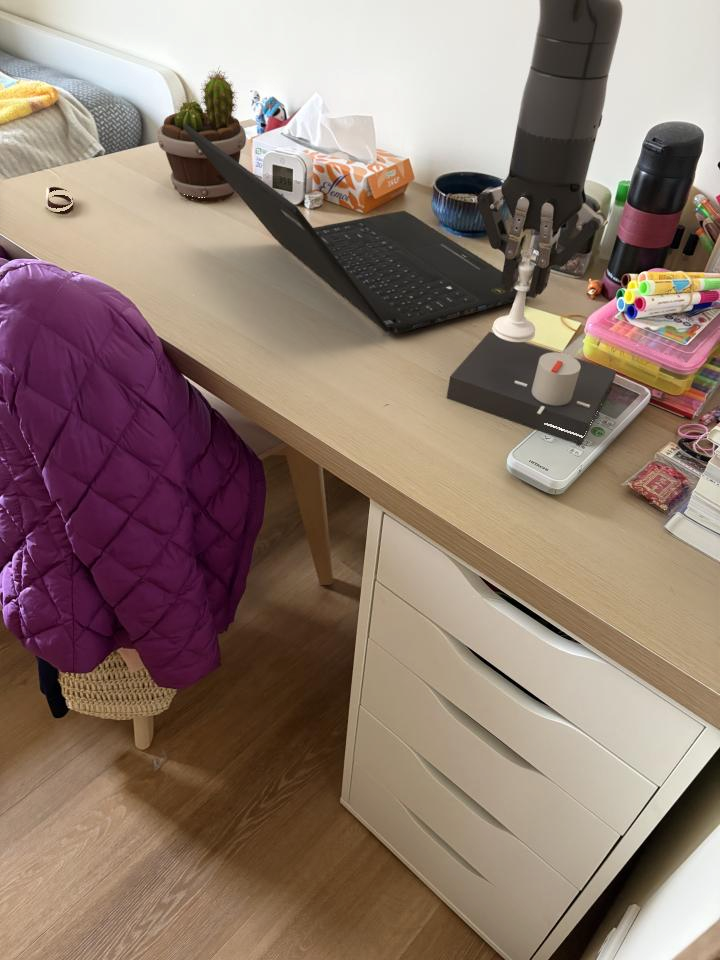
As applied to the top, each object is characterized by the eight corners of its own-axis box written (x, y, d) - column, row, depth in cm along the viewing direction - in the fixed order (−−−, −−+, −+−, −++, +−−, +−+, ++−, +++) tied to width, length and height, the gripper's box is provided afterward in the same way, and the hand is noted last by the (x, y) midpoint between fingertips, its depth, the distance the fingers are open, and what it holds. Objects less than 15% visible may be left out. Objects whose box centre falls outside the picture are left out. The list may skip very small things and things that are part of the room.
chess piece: (504, 316, 85) (520, 234, 78) (542, 330, 83) (562, 247, 76) (484, 332, 82) (499, 248, 75) (523, 347, 80) (542, 262, 73)
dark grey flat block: (609, 391, 85) (617, 369, 83) (577, 451, 76) (584, 428, 74) (485, 352, 91) (489, 330, 89) (441, 403, 82) (445, 380, 80)
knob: (539, 378, 81) (547, 345, 78) (576, 390, 80) (586, 357, 77) (525, 397, 78) (534, 363, 75) (564, 410, 77) (574, 376, 74)
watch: (45, 201, 120) (40, 179, 118) (75, 199, 122) (70, 177, 119) (45, 219, 115) (39, 196, 113) (76, 216, 116) (71, 194, 114)
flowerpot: (157, 207, 121) (138, 74, 107) (174, 175, 132) (158, 52, 119) (243, 211, 121) (235, 79, 108) (253, 179, 132) (246, 56, 119)
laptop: (533, 303, 101) (565, 160, 88) (295, 369, 86) (293, 208, 73) (404, 218, 122) (415, 92, 109) (194, 259, 107) (178, 118, 94)
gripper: (475, 119, 68) (451, 288, 79) (620, 148, 63) (572, 323, 74) (503, 102, 72) (477, 263, 84) (640, 127, 68) (592, 295, 79)
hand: (522, 291), depth 79 cm, fingers closed on chess piece
